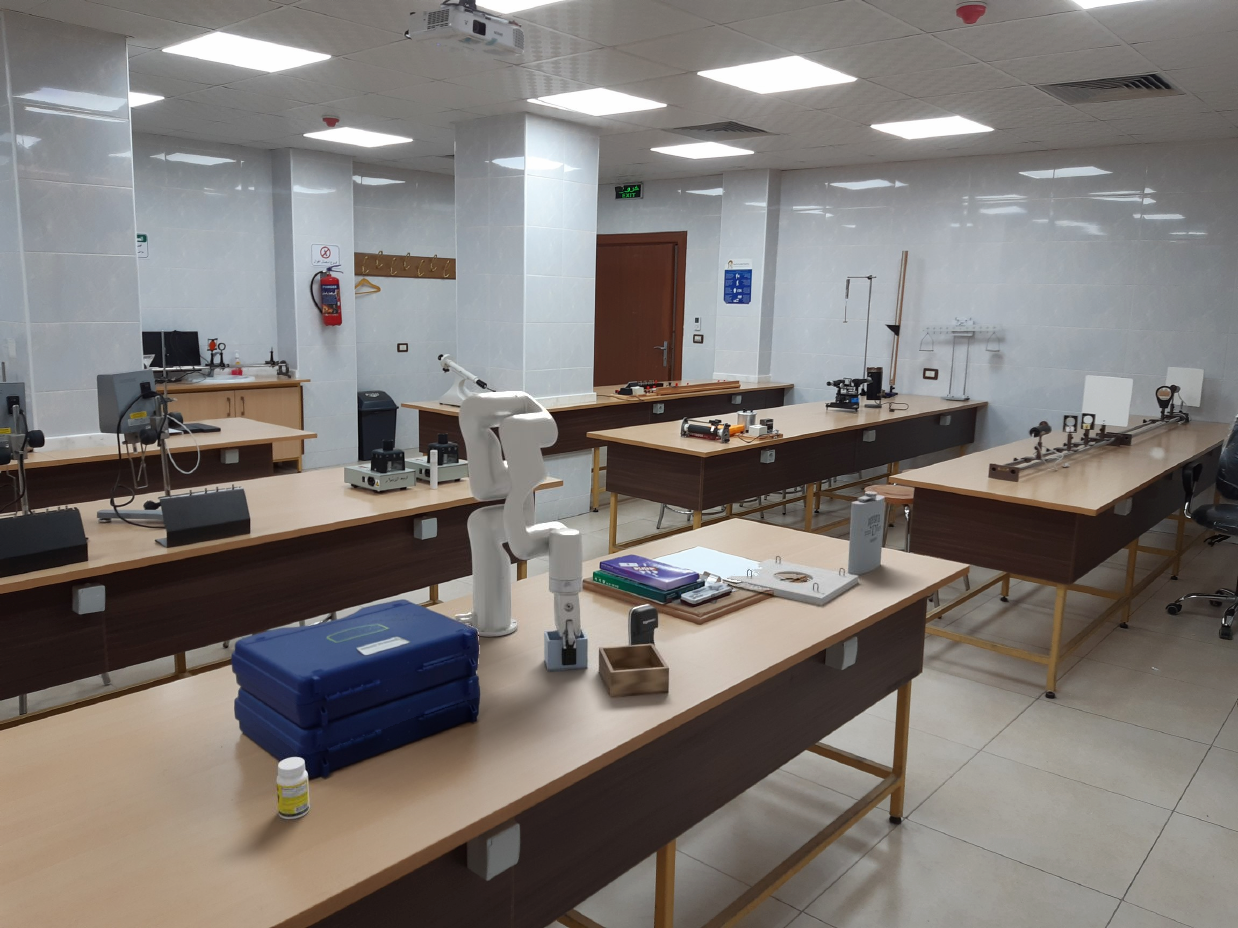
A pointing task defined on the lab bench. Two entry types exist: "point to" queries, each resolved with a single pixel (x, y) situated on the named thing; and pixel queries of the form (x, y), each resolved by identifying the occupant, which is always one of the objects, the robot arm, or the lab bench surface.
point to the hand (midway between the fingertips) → (566, 656)
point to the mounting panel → (813, 591)
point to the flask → (866, 533)
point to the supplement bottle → (292, 788)
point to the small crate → (554, 651)
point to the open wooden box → (633, 670)
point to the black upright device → (642, 624)
